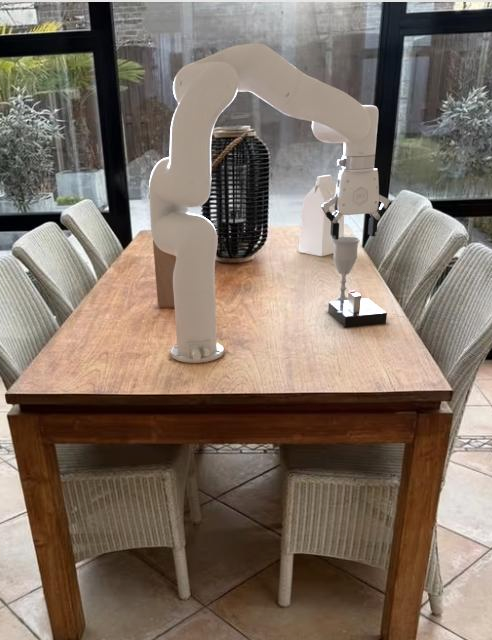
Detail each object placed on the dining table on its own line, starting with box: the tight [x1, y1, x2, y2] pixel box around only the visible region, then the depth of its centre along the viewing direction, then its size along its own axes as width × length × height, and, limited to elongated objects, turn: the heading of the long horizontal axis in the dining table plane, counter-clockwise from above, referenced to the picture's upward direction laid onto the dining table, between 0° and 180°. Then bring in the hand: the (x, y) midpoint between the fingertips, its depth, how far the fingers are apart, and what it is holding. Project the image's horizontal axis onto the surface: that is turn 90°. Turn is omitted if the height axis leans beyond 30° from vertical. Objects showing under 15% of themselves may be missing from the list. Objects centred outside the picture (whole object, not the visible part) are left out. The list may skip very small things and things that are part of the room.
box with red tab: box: [347, 289, 362, 314], centre depth 169 cm, size 5×2×5 cm, turn 8°
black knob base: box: [327, 297, 388, 329], centre depth 173 cm, size 14×12×3 cm
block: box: [152, 239, 176, 309], centre depth 190 cm, size 10×10×20 cm
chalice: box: [333, 236, 361, 301], centre depth 180 cm, size 7×7×18 cm
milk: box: [297, 174, 345, 257], centre depth 239 cm, size 12×12×26 cm
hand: (353, 237), depth 167 cm, fingers open, 9 cm apart
